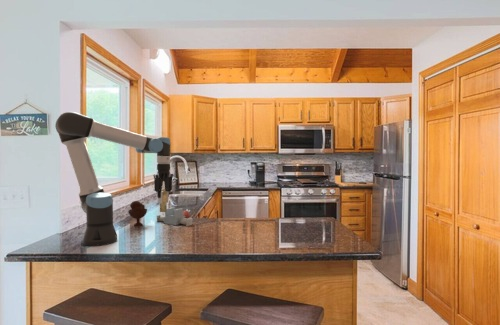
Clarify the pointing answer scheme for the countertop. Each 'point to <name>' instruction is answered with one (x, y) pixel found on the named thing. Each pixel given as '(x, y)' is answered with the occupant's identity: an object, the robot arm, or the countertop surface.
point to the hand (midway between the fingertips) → (163, 202)
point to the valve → (176, 217)
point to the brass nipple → (163, 202)
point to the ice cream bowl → (137, 211)
